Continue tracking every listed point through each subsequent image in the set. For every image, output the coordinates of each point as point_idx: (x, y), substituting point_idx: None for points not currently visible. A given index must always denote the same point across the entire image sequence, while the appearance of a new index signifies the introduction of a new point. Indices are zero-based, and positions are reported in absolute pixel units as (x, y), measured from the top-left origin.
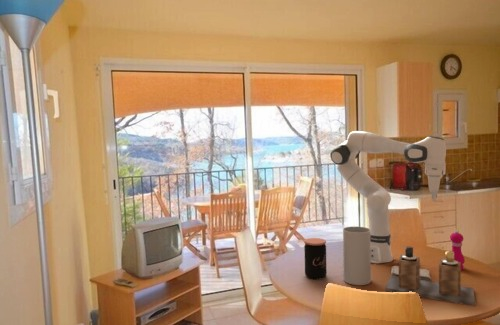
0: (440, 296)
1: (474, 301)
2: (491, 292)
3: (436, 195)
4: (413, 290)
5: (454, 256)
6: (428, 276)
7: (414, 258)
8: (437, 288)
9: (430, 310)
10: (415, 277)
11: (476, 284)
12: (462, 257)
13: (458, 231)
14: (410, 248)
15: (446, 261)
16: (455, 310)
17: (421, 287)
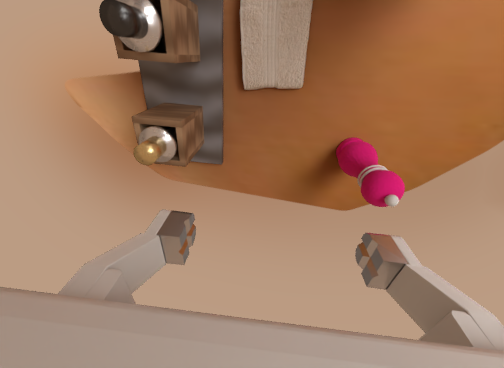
0: (147, 104)
1: None
2: (229, 186)
3: (363, 275)
4: None
5: (348, 158)
6: (247, 84)
7: (125, 44)
8: (187, 101)
9: (93, 81)
10: None
11: (259, 171)
12: (347, 173)
13: (388, 205)
14: (103, 24)
15: (147, 137)
16: (122, 124)
17: (175, 65)
